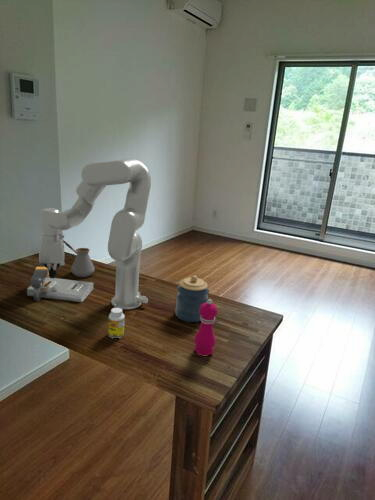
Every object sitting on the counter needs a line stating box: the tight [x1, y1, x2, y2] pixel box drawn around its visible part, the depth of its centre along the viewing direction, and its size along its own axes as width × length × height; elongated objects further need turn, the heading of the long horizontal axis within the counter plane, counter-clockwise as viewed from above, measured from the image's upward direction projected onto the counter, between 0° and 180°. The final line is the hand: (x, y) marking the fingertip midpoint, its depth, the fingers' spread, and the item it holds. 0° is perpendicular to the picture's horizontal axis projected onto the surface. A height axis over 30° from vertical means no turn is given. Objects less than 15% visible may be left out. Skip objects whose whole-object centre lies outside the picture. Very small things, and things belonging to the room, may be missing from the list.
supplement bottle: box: [107, 307, 125, 339], centre depth 133 cm, size 6×6×10 cm
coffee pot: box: [61, 238, 96, 278], centre depth 185 cm, size 21×12×15 cm, turn 58°
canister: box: [174, 275, 210, 323], centre depth 151 cm, size 13×13×18 cm
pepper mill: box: [194, 298, 218, 355], centre depth 126 cm, size 7×7×20 cm
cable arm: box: [29, 266, 50, 288], centre depth 159 cm, size 17×5×4 cm, turn 11°
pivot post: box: [33, 287, 41, 302], centre depth 154 cm, size 2×2×6 cm
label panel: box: [26, 276, 94, 303], centre depth 163 cm, size 24×14×3 cm, turn 84°
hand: (52, 277), depth 164 cm, fingers closed
